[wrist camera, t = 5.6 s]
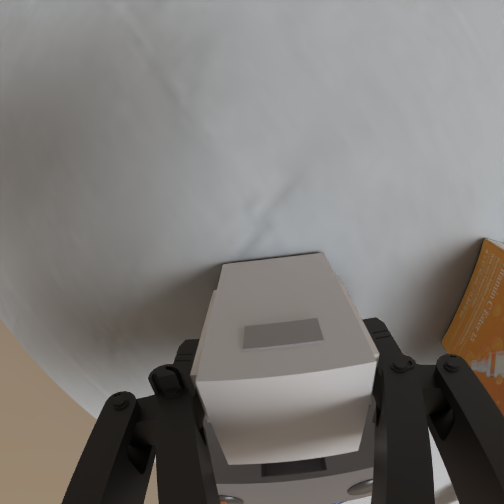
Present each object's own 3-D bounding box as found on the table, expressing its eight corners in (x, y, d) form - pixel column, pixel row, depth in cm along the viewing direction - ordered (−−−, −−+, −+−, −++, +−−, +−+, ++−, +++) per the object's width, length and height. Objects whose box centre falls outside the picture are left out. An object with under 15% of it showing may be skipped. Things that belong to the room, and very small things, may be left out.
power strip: (181, 415, 20) (165, 487, 14) (475, 366, 19) (511, 420, 13) (200, 453, 22) (191, 515, 16) (455, 410, 21) (481, 461, 15)
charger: (222, 262, 15) (194, 379, 8) (323, 250, 15) (377, 358, 7) (246, 385, 18) (242, 495, 11) (324, 376, 18) (348, 484, 11)
